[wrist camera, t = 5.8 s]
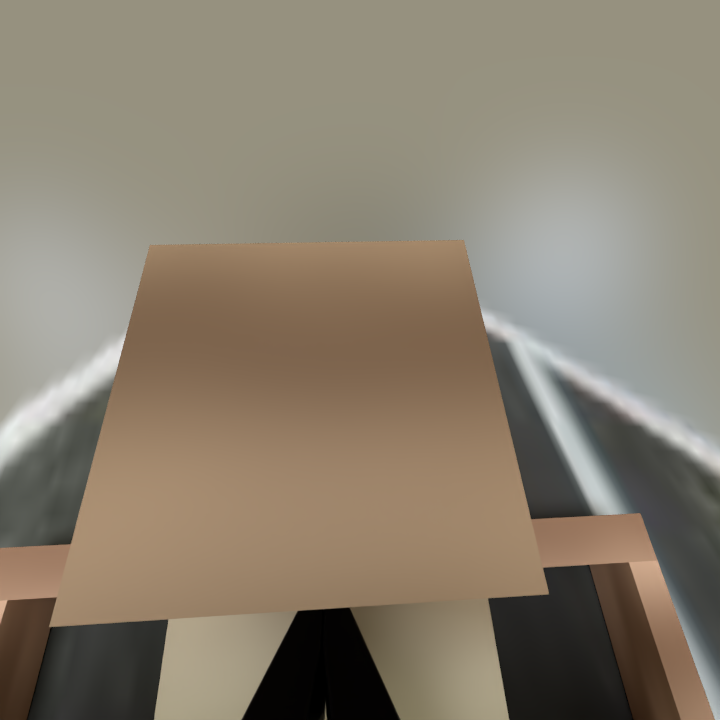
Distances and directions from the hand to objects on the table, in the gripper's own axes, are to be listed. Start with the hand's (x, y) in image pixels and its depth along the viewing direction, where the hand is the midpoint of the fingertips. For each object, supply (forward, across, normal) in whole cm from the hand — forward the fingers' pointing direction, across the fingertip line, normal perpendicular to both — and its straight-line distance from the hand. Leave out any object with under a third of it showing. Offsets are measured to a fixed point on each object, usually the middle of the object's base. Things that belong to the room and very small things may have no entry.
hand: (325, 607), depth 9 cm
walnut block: (+5, 0, +1) cm, 5 cm away
